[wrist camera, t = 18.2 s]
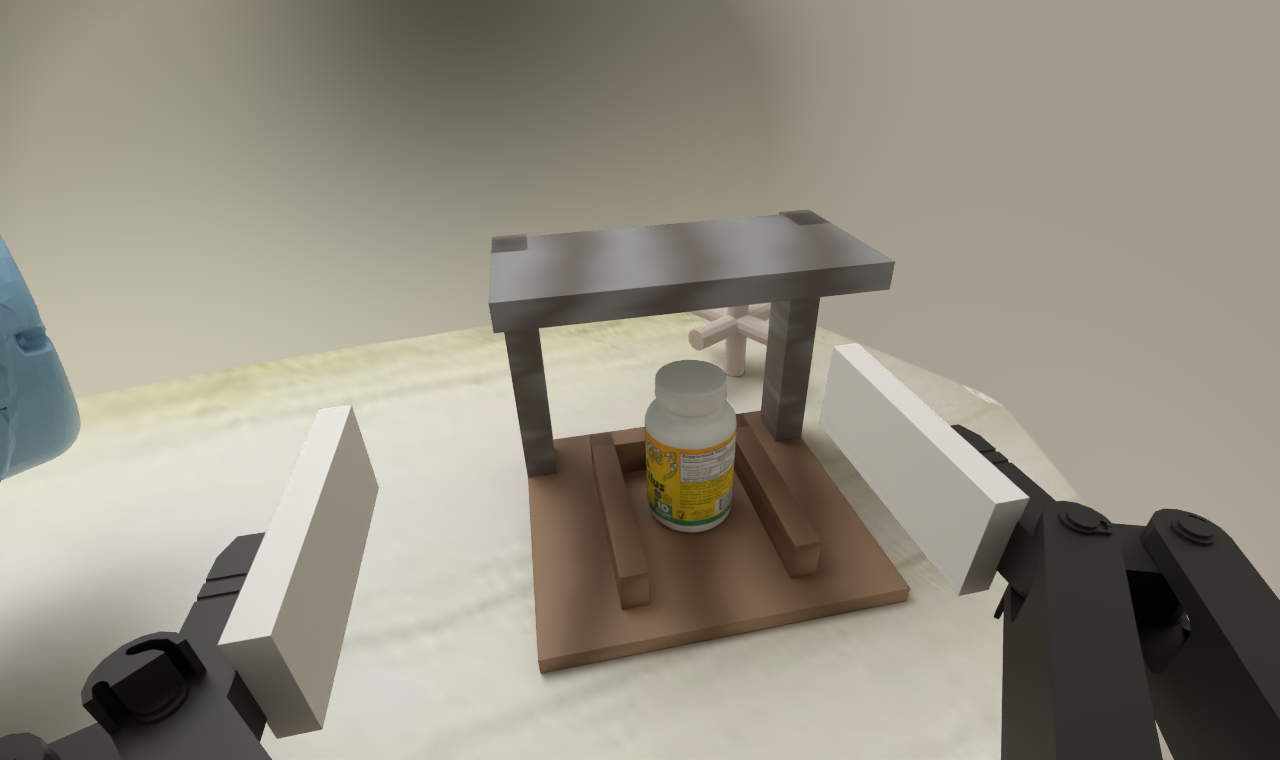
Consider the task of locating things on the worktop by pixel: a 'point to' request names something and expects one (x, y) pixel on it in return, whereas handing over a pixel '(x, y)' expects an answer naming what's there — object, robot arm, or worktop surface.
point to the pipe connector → (732, 332)
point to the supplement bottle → (690, 447)
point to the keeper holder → (616, 461)
